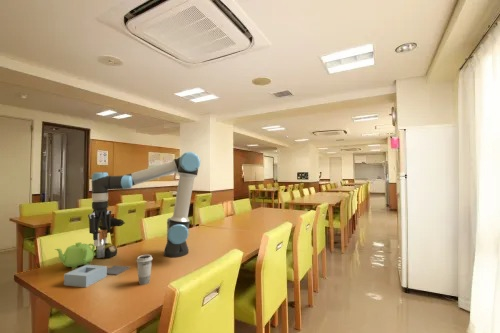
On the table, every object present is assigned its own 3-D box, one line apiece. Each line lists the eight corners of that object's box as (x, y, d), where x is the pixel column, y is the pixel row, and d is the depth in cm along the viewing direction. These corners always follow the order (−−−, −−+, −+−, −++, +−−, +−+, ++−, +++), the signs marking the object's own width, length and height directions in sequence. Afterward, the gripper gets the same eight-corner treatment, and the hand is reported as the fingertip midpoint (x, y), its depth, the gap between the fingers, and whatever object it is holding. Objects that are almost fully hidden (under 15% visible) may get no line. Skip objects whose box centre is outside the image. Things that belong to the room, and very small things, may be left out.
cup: (135, 287, 109) (135, 260, 109) (136, 281, 115) (136, 255, 115) (152, 284, 112) (152, 257, 112) (152, 278, 118) (152, 253, 118)
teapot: (82, 271, 128) (83, 247, 128) (53, 272, 126) (54, 248, 127) (98, 260, 144) (98, 239, 144) (72, 261, 142) (72, 239, 143)
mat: (130, 267, 132) (130, 266, 132) (116, 275, 122) (116, 274, 122) (114, 266, 133) (114, 265, 134) (99, 273, 124) (99, 272, 124)
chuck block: (106, 276, 121) (106, 266, 121) (86, 287, 109) (86, 276, 109) (86, 274, 123) (86, 264, 123) (63, 285, 111) (64, 274, 111)
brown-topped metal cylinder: (107, 255, 132) (107, 229, 132) (100, 258, 127) (100, 231, 128) (100, 255, 133) (100, 229, 133) (93, 258, 128) (93, 231, 129)
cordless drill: (120, 260, 144) (120, 217, 145) (89, 257, 148) (90, 216, 149) (129, 255, 152) (129, 215, 153) (100, 253, 156) (101, 214, 157)
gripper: (106, 199, 140) (107, 239, 140) (80, 202, 123) (80, 249, 122) (117, 199, 139) (118, 240, 138) (92, 202, 122) (93, 249, 121)
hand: (100, 244), depth 130 cm, fingers closed on brown-topped metal cylinder, 4 cm apart
